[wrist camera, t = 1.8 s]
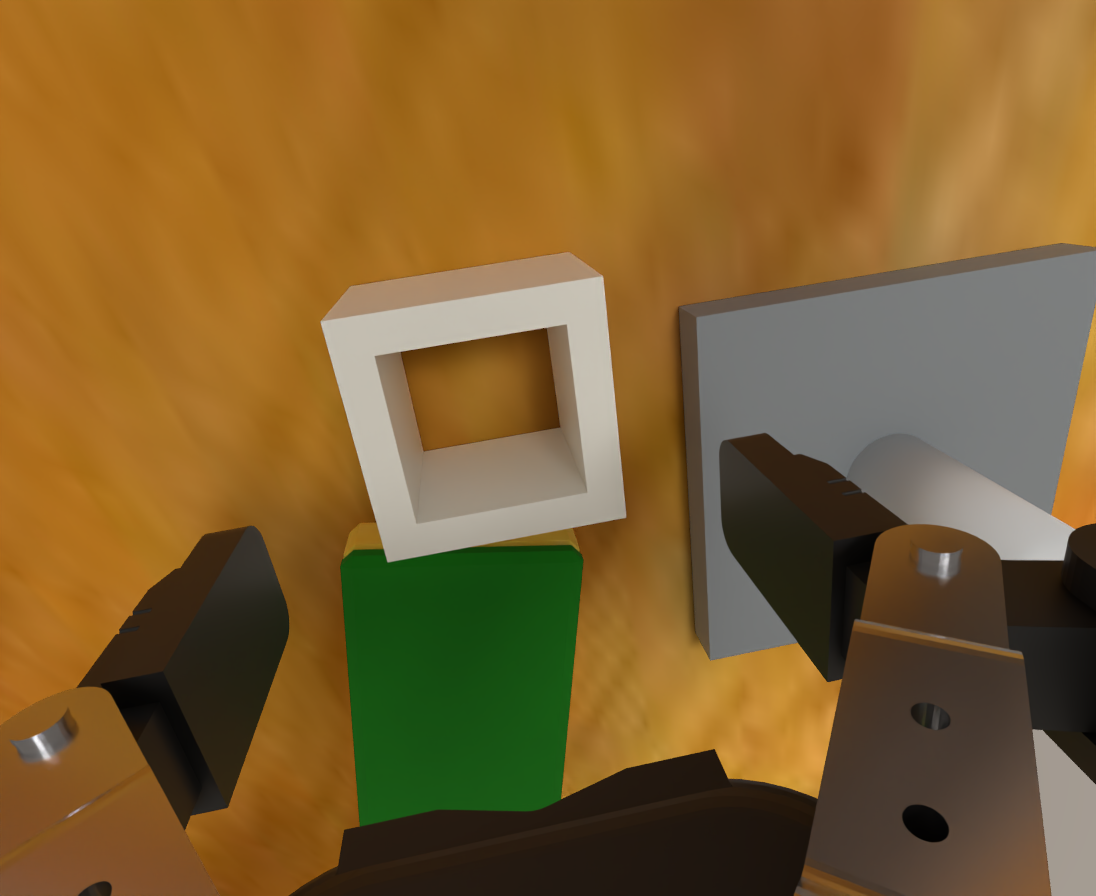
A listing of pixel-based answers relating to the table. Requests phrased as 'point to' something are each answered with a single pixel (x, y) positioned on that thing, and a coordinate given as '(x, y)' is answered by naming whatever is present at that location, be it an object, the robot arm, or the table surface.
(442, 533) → the ring
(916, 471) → the post stand
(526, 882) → the robot arm
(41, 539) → the table surface
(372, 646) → the dish sponge
